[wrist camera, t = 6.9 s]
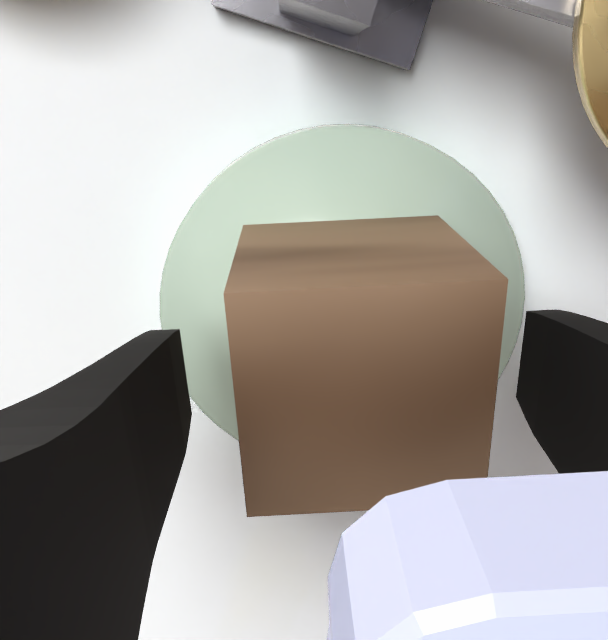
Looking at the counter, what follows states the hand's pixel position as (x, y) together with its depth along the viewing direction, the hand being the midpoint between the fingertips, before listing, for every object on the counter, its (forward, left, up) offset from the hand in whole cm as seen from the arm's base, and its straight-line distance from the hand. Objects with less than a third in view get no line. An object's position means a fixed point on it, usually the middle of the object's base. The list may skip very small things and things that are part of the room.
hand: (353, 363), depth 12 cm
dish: (0, 0, -3) cm, 3 cm away
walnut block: (0, 0, -2) cm, 2 cm away
